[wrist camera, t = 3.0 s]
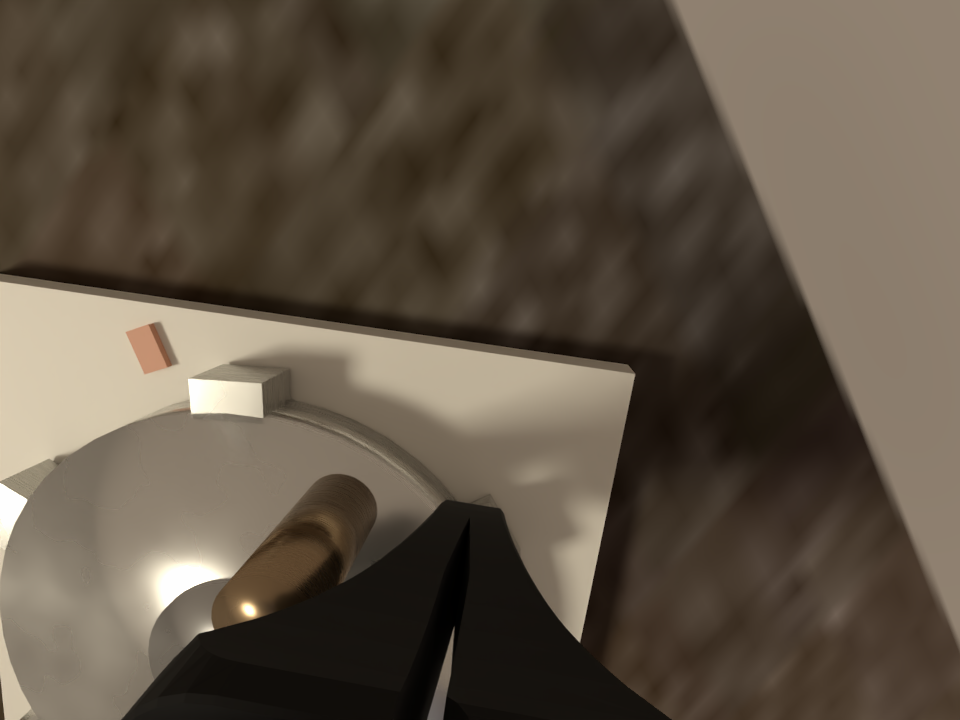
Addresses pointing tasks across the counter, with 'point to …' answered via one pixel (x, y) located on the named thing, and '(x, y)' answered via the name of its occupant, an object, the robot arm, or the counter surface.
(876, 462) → the counter surface
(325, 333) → the cap plate
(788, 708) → the counter surface
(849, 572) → the counter surface
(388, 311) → the counter surface
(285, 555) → the tabbed shallow bowl
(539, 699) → the robot arm
